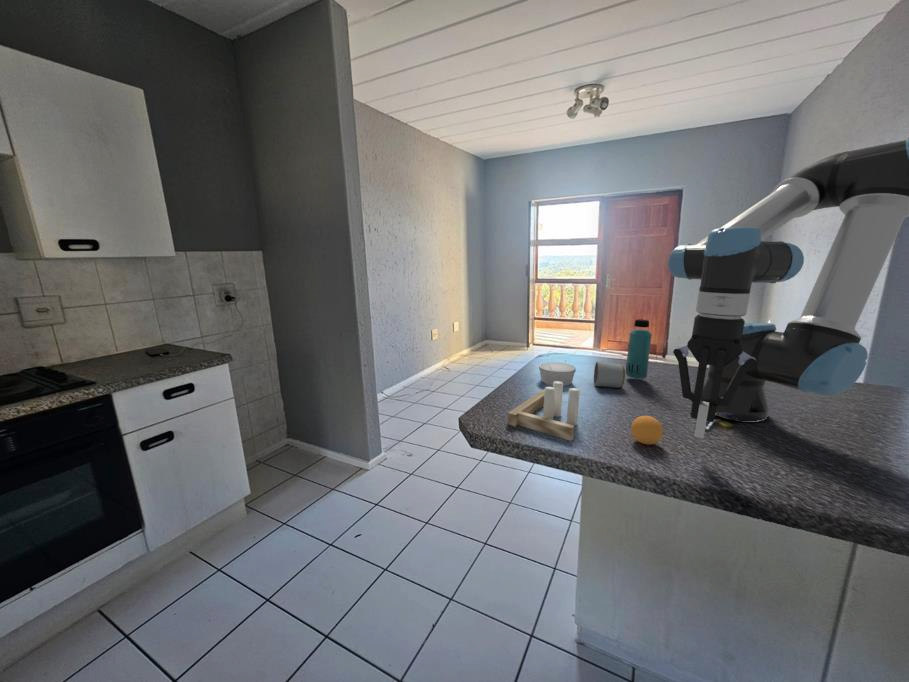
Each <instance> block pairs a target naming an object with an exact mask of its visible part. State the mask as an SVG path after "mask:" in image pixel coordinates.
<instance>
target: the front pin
mask: <svg viewBox="0 0 909 682" xmlns="http://www.w3.org/2000/svg"><path fill="white" fill-rule="evenodd" d="M580 393H581V391H580V389H579V388H575V387H573V388H572V387H570V388H569V389H568V398H567V399H568V401H567V413H566V414H567V415H566V424H570V425H574V426H577V425H578V418H579V417H578V416H579V404H580Z"/></svg>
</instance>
